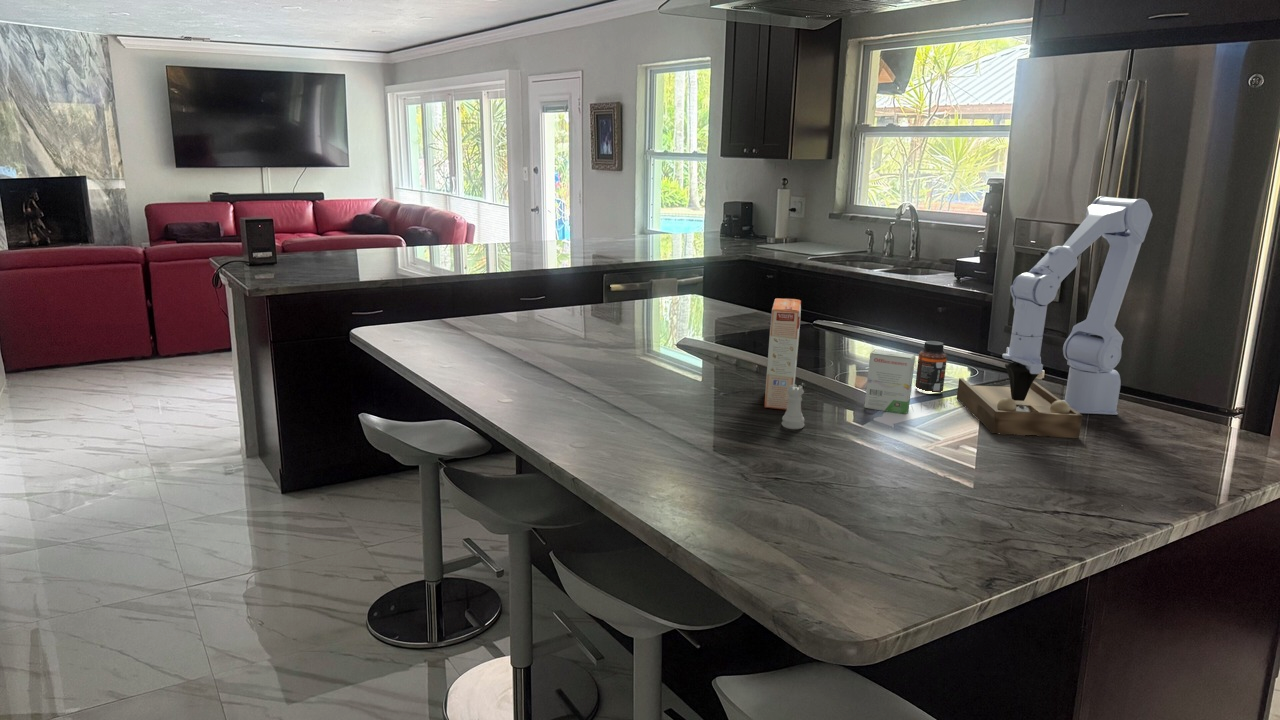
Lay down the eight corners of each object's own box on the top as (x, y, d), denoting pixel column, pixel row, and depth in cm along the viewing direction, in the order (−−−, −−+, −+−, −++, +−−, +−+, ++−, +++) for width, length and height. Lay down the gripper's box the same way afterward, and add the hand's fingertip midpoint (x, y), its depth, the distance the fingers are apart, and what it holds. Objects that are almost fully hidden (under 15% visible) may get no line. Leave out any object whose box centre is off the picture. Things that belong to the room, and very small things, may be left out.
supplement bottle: (944, 396, 188) (950, 346, 185) (916, 394, 189) (921, 344, 186) (940, 389, 193) (946, 340, 190) (913, 387, 194) (918, 338, 192)
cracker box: (793, 411, 174) (800, 310, 169) (763, 408, 175) (769, 308, 170) (795, 392, 188) (802, 298, 182) (767, 390, 189) (773, 296, 184)
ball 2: (1064, 415, 166) (1066, 398, 166) (1071, 420, 163) (1074, 403, 162) (1046, 414, 167) (1048, 397, 166) (1053, 419, 163) (1055, 402, 163)
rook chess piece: (806, 424, 166) (809, 384, 164) (802, 431, 162) (805, 390, 160) (783, 421, 168) (786, 382, 166) (779, 428, 164) (782, 388, 162)
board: (1031, 401, 186) (1034, 381, 185) (1078, 438, 163) (1082, 415, 161) (956, 398, 187) (959, 378, 186) (992, 434, 164) (995, 411, 162)
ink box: (863, 408, 178) (869, 353, 175) (868, 402, 182) (873, 348, 179) (906, 414, 174) (912, 358, 171) (910, 408, 179) (916, 353, 176)
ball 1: (1011, 412, 167) (1013, 396, 166) (1017, 418, 164) (1020, 401, 163) (993, 411, 167) (995, 395, 166) (999, 417, 164) (1001, 400, 163)
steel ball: (1027, 415, 173) (1031, 402, 171) (1030, 426, 170) (1034, 414, 168) (1009, 413, 173) (1013, 401, 171) (1012, 425, 171) (1016, 412, 169)
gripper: (994, 325, 177) (986, 388, 180) (1019, 341, 163) (1010, 409, 166) (1029, 327, 176) (1020, 390, 180) (1057, 342, 162) (1047, 411, 166)
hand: (1017, 399), depth 173 cm, fingers closed
